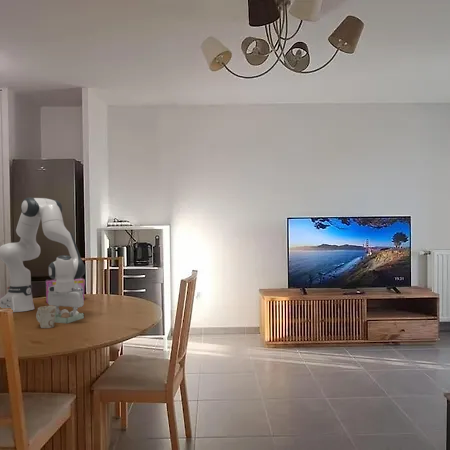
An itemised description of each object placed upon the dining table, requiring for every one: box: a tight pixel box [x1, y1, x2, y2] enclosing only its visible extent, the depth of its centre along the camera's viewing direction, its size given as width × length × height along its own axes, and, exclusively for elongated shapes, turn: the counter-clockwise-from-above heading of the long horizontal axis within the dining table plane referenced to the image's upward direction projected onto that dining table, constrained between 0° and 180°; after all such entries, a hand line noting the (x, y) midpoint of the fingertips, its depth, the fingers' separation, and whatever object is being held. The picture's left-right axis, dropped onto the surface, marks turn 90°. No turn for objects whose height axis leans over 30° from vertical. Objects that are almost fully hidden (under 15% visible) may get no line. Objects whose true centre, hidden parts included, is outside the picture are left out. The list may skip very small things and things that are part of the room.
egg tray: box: [36, 311, 85, 324], centre depth 272 cm, size 19×13×3 cm
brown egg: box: [61, 312, 70, 318], centre depth 267 cm, size 5×5×5 cm
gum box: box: [45, 277, 86, 304], centre depth 331 cm, size 24×8×14 cm, turn 111°
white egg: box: [60, 308, 70, 314], centre depth 275 cm, size 5×5×5 cm
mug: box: [35, 305, 56, 329], centre depth 256 cm, size 8×13×10 cm, turn 58°
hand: (66, 314), depth 267 cm, fingers open, 8 cm apart
